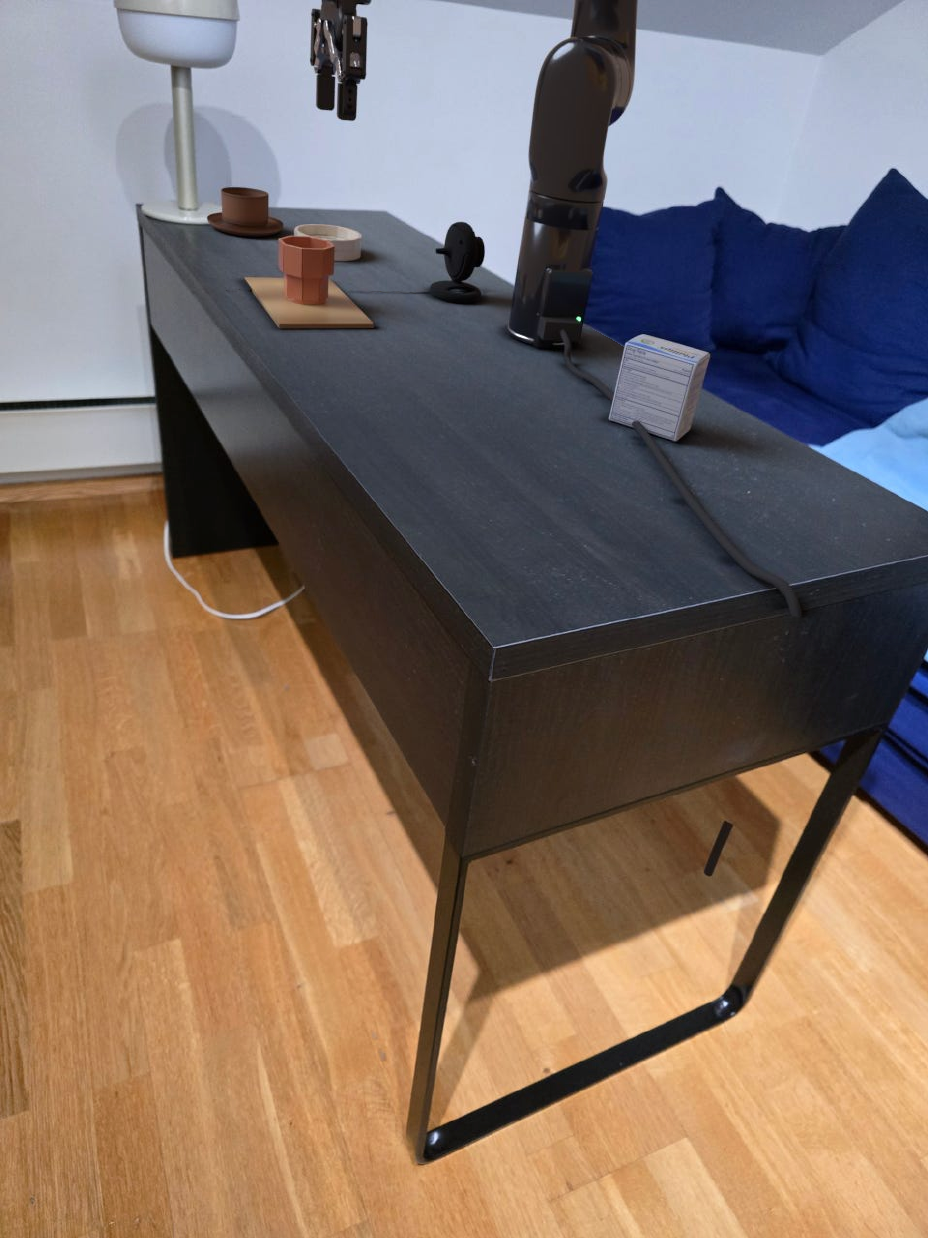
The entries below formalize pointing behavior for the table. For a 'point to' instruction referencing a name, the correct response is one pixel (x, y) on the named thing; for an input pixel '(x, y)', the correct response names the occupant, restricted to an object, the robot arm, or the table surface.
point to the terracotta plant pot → (306, 268)
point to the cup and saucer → (245, 213)
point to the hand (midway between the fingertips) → (335, 114)
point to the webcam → (460, 264)
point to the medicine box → (659, 386)
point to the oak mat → (307, 307)
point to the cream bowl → (335, 239)
